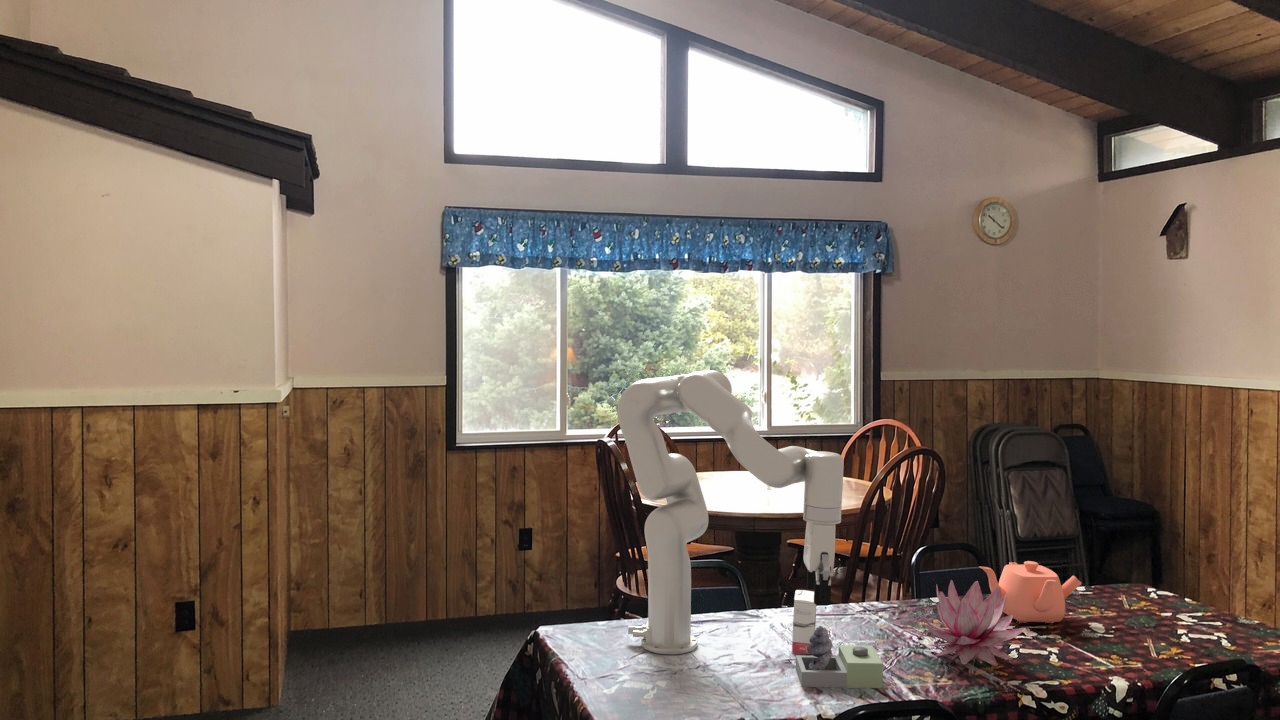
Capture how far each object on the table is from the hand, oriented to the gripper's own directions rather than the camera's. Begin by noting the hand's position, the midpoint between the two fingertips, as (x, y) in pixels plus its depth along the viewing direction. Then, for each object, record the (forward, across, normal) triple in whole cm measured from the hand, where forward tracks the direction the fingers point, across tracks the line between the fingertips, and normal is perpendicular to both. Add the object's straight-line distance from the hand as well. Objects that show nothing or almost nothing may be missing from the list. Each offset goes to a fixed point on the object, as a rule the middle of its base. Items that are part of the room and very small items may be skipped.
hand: (818, 596), depth 189 cm
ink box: (+17, -17, 0) cm, 24 cm away
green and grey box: (+17, 0, +5) cm, 17 cm away
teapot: (+16, -40, +58) cm, 72 cm away
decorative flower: (+16, -13, +35) cm, 41 cm away
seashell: (+16, 0, +1) cm, 17 cm away
